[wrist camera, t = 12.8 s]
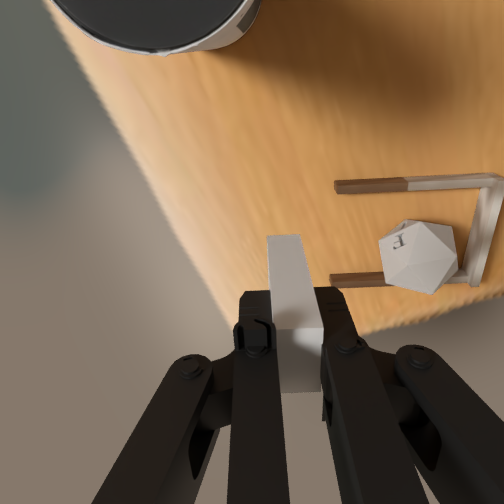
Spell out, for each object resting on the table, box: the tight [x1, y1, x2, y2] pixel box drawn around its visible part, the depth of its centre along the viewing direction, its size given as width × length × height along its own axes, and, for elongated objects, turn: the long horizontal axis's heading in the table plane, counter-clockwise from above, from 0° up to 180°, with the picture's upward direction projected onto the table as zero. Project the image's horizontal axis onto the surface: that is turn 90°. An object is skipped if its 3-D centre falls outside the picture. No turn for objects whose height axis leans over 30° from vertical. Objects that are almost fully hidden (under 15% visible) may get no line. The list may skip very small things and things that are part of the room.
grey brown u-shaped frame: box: [329, 173, 504, 288], centre depth 47 cm, size 14×18×3 cm
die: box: [378, 219, 458, 295], centre depth 45 cm, size 8×9×10 cm
